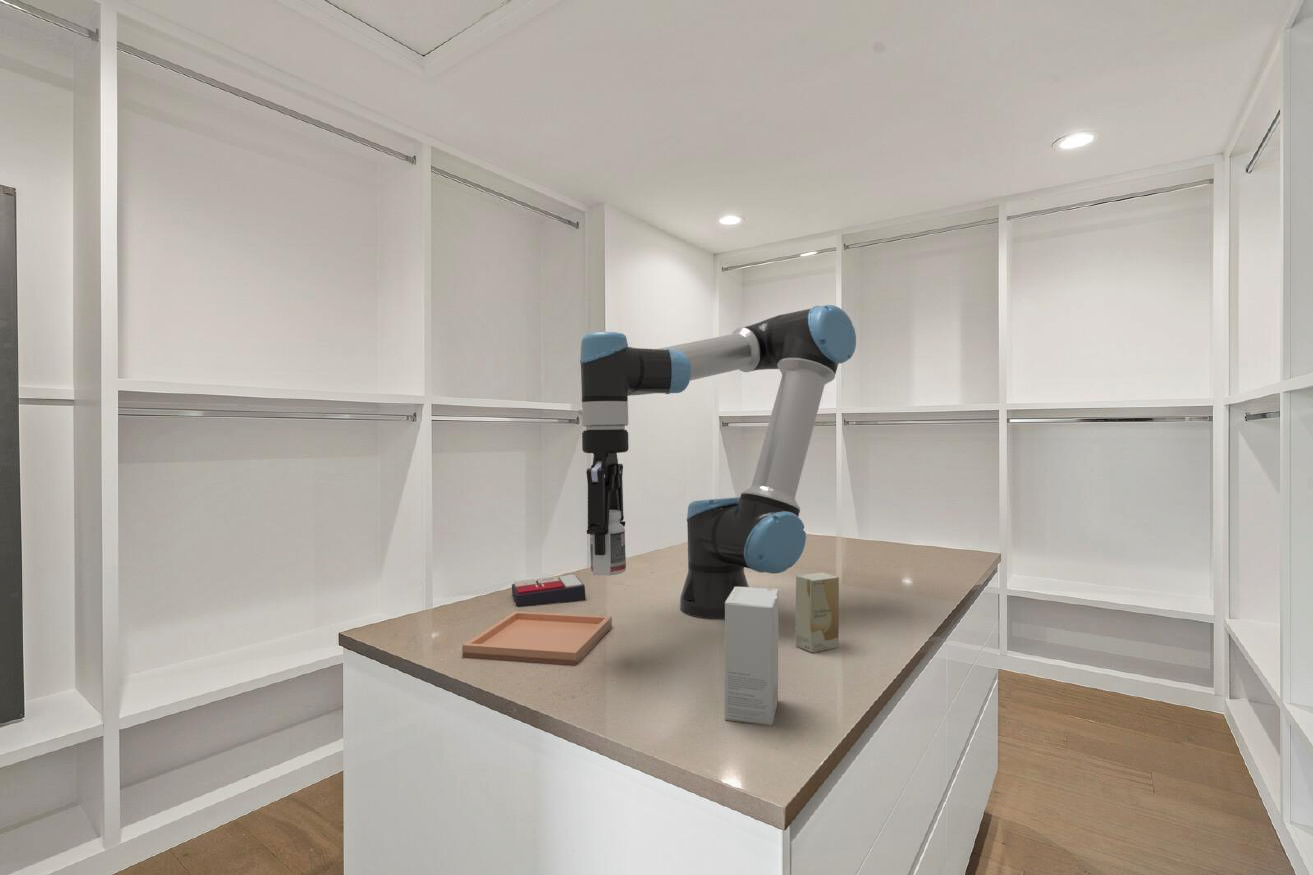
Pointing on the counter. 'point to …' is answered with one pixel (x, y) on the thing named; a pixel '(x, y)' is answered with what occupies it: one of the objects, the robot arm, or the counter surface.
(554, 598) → the calculator
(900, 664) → the counter surface
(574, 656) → the tray
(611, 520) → the pill bottle
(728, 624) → the skincare box
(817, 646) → the skincare box
